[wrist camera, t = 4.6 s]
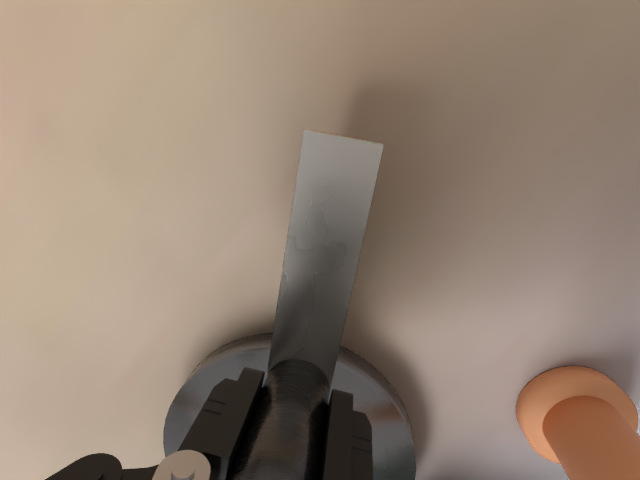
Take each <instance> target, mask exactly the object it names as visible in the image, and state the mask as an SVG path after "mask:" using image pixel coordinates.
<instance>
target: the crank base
mask: <svg viewBox="0 0 640 480" xmlns="http://www.w3.org/2000/svg"><path fill="white" fill-rule="evenodd" d="M272 335H273V333H269V334H260V335H254V336H249V337H246V338H242V339H239V340H236V341H233V342H231V343H229V344H227V345H225V346H223V347H221V348H219V349H218V350H216V351H215V352H213V353H212V354H210V355H209V356H208V357H207V358H205V359H204V360H203V361H202V362H201V363H200V364H199V365H198V366H197V367H196V369H195V370H194V371H193V372H192V374H191V375H190V377H189V378H188V379H187V381H186V382H185V384H184V385H183V386H182V388H181V389H180V391H179V392H178V394H177V395H176V397H175V399H174V400H173V402H172V404H171V406H170V408H169V411H168V414H167V417H166V420H165V426H164V441H163V444H164V451H165V457H167V456H169V455H171V454H172V453H175V452H177V450H178V449H179V447H180V445H181V444H182V442H183V440H184V438H185V437H186V435H187V433H188V431H189V430H190V428H191V426H192V424H193V423H194V421H195V419H196V417H197V416H198V414H199V412H200V411H201V409H202V407H203V405H204V403H205V401H207V398H208V396H209V394H210V393H211V391H212V389H213V387H214V386H216V385H217V384H218V383H220V382H221V381H222V380H224V379H225V378H227V379H231V380H235V381H237V380H238V378H239V376H240V374H241V372H242V370H243V368H244V367H248V368H252V369H256V370H260V371H264V372H265V375H264V380H263V384H264V382H265V379H266V375H267V368H268V362H269V355H270V349H271V342H272ZM262 387H263V386H262ZM332 389H336V390H340V391H344V392H348V393H352V394H353V410H354V411H358V412H362V413H365V414H366V416H367V418H368V420H369V422H370V424H371V426H372V449H373V453H372V455H373V480H415V474H416V462H415V452H414V446H413V440H412V433H411V428H410V424H409V419H408V415H407V413H406V411H405V408H404V406H403V403H402V401H401V400H400V398H399V396H398V395H397V393H396V391H395V390H394V388H393V387H392V386H391V385H390V383H389V382H388V381H387V380H386V378H385V377H384V376H383V375H382V374H381V373H379V372H378V371H377V370H376V369H375V368H374V367H373V366H372V365H370V364H369V363H368V362H366V361H365V360H364V359H362V358H361V357H360V356H358V355H356V354H354V353H353V352H351V351H349V350H347V349H346V348H343V347H341V346H340V348H339V352H338V357H337V361H336V366H335V370H334V375H333V380H332V384H331V389H330V393H329V400H330V396H331V392H332ZM328 403H329V401H328Z"/></svg>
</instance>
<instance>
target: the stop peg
mask: <svg viewBox="0 0 640 480" xmlns="http://www.w3.org/2000/svg"><path fill="white" fill-rule="evenodd" d="M516 417H517V420H518V423H519V425H520V427H521V429H522V430H523V432H524V434H525V436H526V438H527V440H528V442H529V444H530V445H531V446H532V448H533V449H534V450H535V451H536V452H537V453H538V454H539V455H541V456H542V457H544V458H546V459H547V460H550V461H552V462H555V463H558V464H561V465H562V467H563V469H564V470H565V472H566V474H567V475H568V477H569V479H570V480H640V436H639V435H638V433H637V432H636V431H637V427H638V413H637V409H636V407H635V405H634V403H633V402H632V400H631V399H630V398H629V397H628V396H627V395H626V394H625V393H624V392H623V391H622V390H621V389H620V388H619V387H618V386H617V385H616V384H615V383H614V382H613V381H612V380H611V379H610V378H609V377H608V376H606V375H605V374H603V373H601V372H599V371H597V370H595V369H591V368H588V367H582V366H565V367H559V368H555V369H551V370H549V371H546V372H544V373H542V374H540V375H538V376H537V377H535V378H534V379H532V380H531V381H530V382H529V383H528V384H527V385H526V386H525V387H524V389H523V390H522V391H521V393H520V395H519V397H518V400H517V403H516Z"/></svg>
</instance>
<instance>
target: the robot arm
mask: <svg viewBox="0 0 640 480" xmlns="http://www.w3.org/2000/svg"><path fill="white" fill-rule="evenodd" d="M264 375H265V372H264V371H260V370H256V369H252V368H248V367H244V368H243V370H242V372H241V374H240V376H239V378H238V380H237V381H235V380H231V379H227V378H225V379H224V380H222V381H221V382H220V383H218V384H217V385H216V386H214V387H213V389H212V391H211V393H210V394H209V396H208V398H207V401H205V403H204V405H203V407H202V409H201V411H200V412H199V414H198V416H197V417H196V419H195V421H194V423H193V424H192V426H191V428H190V430H189V431H188V433H187V435H186V437H185V438H184V440H183V442H182V444H181V445H180V447H179V449H178V450H177V452H175V453H172V454H171V455H169V456H167V457H166V458H165V459H164V460H163V461H162V462H161V463H160V464H159V465H156V466H153V467H148V468H137V469H122V466H121V463H120V461H119V460H118V459H117V458H116V457H114V456H112V455H109V454H104V453H97V454H91V455H88V456H85V457H83V458H80V459H78V460H77V461H75V462H73V463H72V464H70V465H68V466H67V467H65V468H63V469H62V470H60V471H59V472H57V473H55V474H54V475H52V476H50V477H49V478H47V479H45V480H227V477H228V474H229V472H230V469H231V467H232V464H233V462H234V459H235V456H236V454H237V451H238V449H239V446H240V444H241V441H242V438H243V436H244V433H245V431H246V428H247V426H248V423H249V420H250V418H251V415H252V413H253V410H254V408H255V405H256V402H257V400H258V397H259V395H260V392H261V390H262V386H263V380H264ZM372 453H373V449H372V426H371V424H370V422H369V420H368V418H367V416H366V414H365V413H362V412H358V411H354V410H353V394H352V393H348V392H344V391H340V390H336V389H332V392H331V396H330V400H329V403H328V409H327V417H326V424H325V432H324V440H323V448H322V456H321V464H320V472H319V480H373V455H372Z"/></svg>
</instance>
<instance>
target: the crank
mask: <svg viewBox="0 0 640 480" xmlns="http://www.w3.org/2000/svg"><path fill="white" fill-rule="evenodd" d="M383 147H384V144H382V143H379V142H374V141H368V140H363V139H357V138H352V137H346V136H341V135H335V134H330V133H324V132H319V131H313V130H304V131H303V138H302V145H301V151H300V158H299V164H298V171H297V177H296V184H295V191H294V197H293V204H292V210H291V217H290V224H289V230H288V237H287V243H286V250H285V256H284V263H283V270H282V276H281V283H280V289H279V296H278V303H277V309H276V316H275V322H274V329H273V335H272V342H271V349H270V355H269V362H268V368H267V375H266V379H265V382H264V384H263V387H262V390H261V392H260V395H259V397H258V400H257V402H256V405H255V408H254V410H253V413H252V415H251V418H250V420H249V423H248V426H247V428H246V431H245V433H244V436H243V438H242V441H241V444H240V446H239V449H238V451H237V454H236V456H235V459H234V462H233V464H232V467H231V469H230V472H229V474H228V477H227V480H319V472H320V464H321V456H322V448H323V440H324V432H325V424H326V417H327V409H328V401H329V393H330V389H331V384H332V380H333V375H334V370H335V366H336V361H337V357H338V352H339V348H340V343H341V338H342V334H343V329H344V325H345V320H346V316H347V311H348V306H349V302H350V297H351V293H352V288H353V284H354V279H355V275H356V270H357V265H358V261H359V256H360V252H361V247H362V243H363V238H364V233H365V229H366V224H367V220H368V215H369V211H370V206H371V201H372V197H373V192H374V188H375V183H376V179H377V174H378V170H379V165H380V160H381V156H382V151H383Z"/></svg>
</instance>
